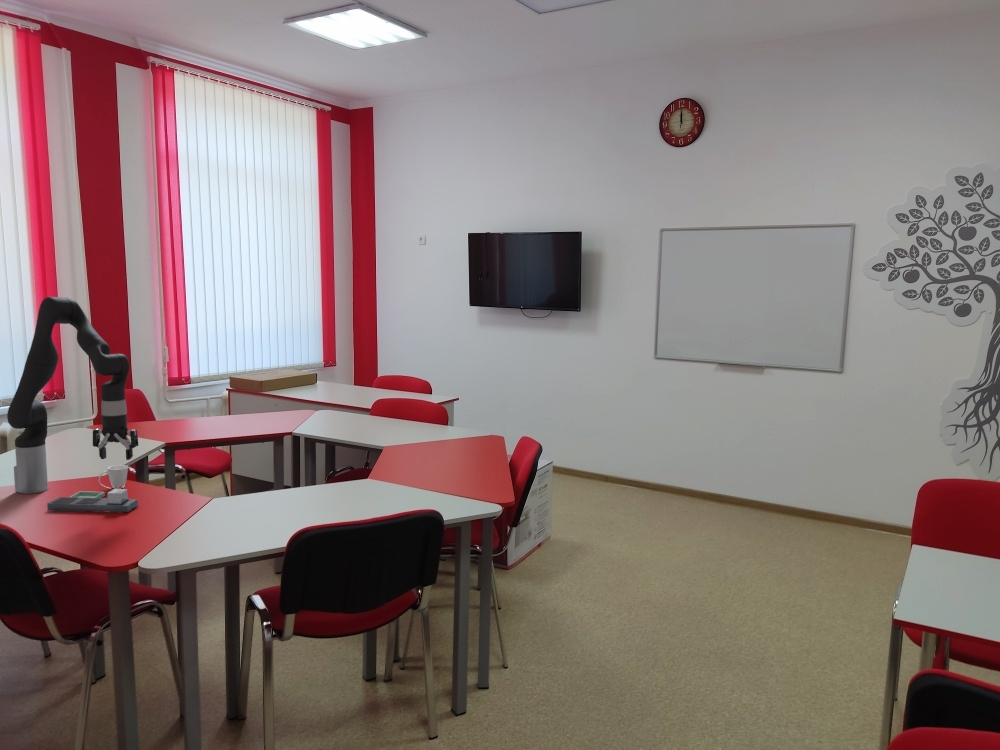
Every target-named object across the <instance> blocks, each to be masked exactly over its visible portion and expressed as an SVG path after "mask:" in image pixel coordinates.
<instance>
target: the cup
mask: <svg viewBox="0 0 1000 750" xmlns="http://www.w3.org/2000/svg"><path fill="white" fill-rule="evenodd" d="M128 469H129V465H127V464H126V465H125V464H115V465H110V466H108V467H107V470H105V471H102V472H101V473H100V474H99V476H98V483H99V484H100V486H102V487H103V488H106V489H107V490H112V489H111V488H114V489H121V488H123V489H125V488H126V482H127V478H128ZM103 474H108V477H109V483H110V484H111V487H108V486H107V485H106V486H105V485H104V484H102V483H101V477H102V475H103ZM120 486H122V487H121V488H119V487H120ZM115 487H116V488H115ZM124 487H125V488H124Z"/></svg>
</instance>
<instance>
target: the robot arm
mask: <svg viewBox="0 0 1000 750" xmlns="http://www.w3.org/2000/svg"><path fill="white" fill-rule="evenodd" d="M39 305H40V306H39V308H38V313H37V319H36V324H35V328H34V333H33V338H32V341H31V345H30V347H29V352H28V354H27V358H26V360H25V363H24V367H23V370H22V375H21V377H20V381H19V383H18V387H17V389H16V391H15V393H14V396H13V398H12V400H11V402H10V404H9V407H8V410H7V414H6V419H7V423H8V425H9V426H10V427H11V428H13V429H16V430H17V429H18V430H21V429H24V430H23V432H22V433H20V435H18V436H16V438H15V439H14V449H15V450H14V451H15V463H16V465H15V466H14V467H13V477H14V478H13V479H14V492H15V493H19V494H22V495H23V494H24V495H28V494H30V495H31V494H38V493H42V492H45V491H47V490H48V489H49V483H48V482H49V481H48V466H47V465H48V464H47V463H48V461H47V449H46V448H47V447H46V439H47V437H48V436H47V435H48V411H47V408H46V406H45V404H44V403H42V401H39V400H35V399H36V397H37V396H38V395H39V393H40V392H41V391H42V389H44V388H45V386H46V385H47V384H48V383H49V382H50V381H51V380H52V378H53V376H54V374H55V372H56V369H57V365H58V362H59V353H58V350H57V347H56V345H55V342H54V341H53V330H54V327H55V325H56V324H58V325H59V324H62V325H70V326H73V327H74V328H75V329H76V341H77V345H78V346H79V347H80V348H81V350H83V352H84V353H85V355H87V357H89V360H90V362H91V364H92V367H93V370H94V371H95V372H96V374H98V375H99V376H102V377H111V376H112V377H111V379H110V380H108V381H106V382H104V383H102V384H101V386H100V392H101V393H100V395H101V405H100V408H101V409H100V410H101V411H100V412H101V426H102V429H100V427H97V428H95V429H93V430H92V446H93V447H96V448H98V455H99V458H100V459H101V460H105V459H107V447H106V446H107V445H108V444H109V443H117V444H118V443H120V444H121V445H122V446H123V447H125V458H126V461H130V460H131V459H132V458H133V456H134V454H133V450H134V448H136V447H138V446H139V438H138V437H139V436H138V430H137V429H136V428H135V429H130V430H129V429H128V414H127V413H128V408H127V401H126V384H127V380H128V375H129V372H130V360H129V359H128V357H127V356H126V355H125V354H123V353H111V347H110V345H109V344H108V343H107V342H106V341H105V339H103V337H101V335H100V334H99V333H98V332H97V331H96V329H95V328H94V327H93V325H92V323H91V322H90V320H89V318H88V317H87V315H86V314H85V312H84V310H83V308H82V307H81V305H80V303H79V302H77V301H76V300H75V299H73V298H69V297H61V296H46V297H44V299H42V301H41V303H40V304H39ZM95 372H94V373H95ZM101 435H103V438H102V440H101ZM128 436H129V437H130V438H129V437H128Z"/></svg>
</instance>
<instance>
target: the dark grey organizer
mask: <svg viewBox="0 0 1000 750" xmlns="http://www.w3.org/2000/svg"><path fill="white" fill-rule="evenodd" d="M46 504H47V511H48V510H53V511H52V512H55V511H57V512H79V511H110V512H109V513H113V512H128V513H130V512H131V511H133V510H134V509H136V508H138V506H139V502H138V498H135V499H134V498H128V502H126V503H124V504H123V505H108V497H103V498H78V497H70V496H59V497H57V498H55V499H53V500H52V501H51V500H50V501H49V502H47V503H46ZM135 507H136V508H135ZM133 508H134V509H133ZM132 509H133V510H132ZM61 510H62V511H61ZM65 510H66V511H65ZM130 510H131V511H130ZM129 511H130V512H129Z"/></svg>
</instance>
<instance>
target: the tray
mask: <svg viewBox="0 0 1000 750" xmlns="http://www.w3.org/2000/svg"><path fill="white" fill-rule="evenodd" d="M104 496H105V497H106V491H92V490H91V491H88V490H87V491H85V490H80V491H78V492H76V493H74V494H72V495H71V496H69V497H78V498H102V497H103V498H105V497H104Z"/></svg>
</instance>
